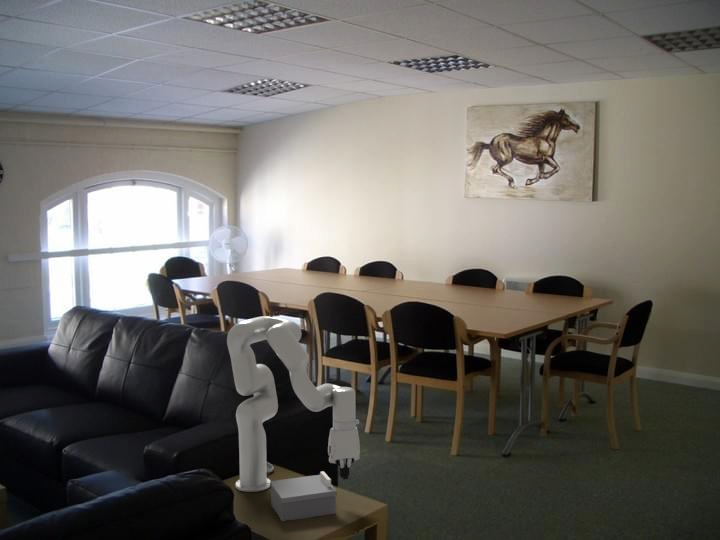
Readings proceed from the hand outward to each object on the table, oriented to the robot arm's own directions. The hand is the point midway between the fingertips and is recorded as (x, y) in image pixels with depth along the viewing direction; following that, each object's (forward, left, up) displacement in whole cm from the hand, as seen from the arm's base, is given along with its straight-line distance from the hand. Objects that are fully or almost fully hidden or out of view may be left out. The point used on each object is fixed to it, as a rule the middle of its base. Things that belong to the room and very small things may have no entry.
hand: (344, 477), depth 251 cm
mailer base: (0, -14, -9) cm, 17 cm away
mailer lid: (0, -14, -2) cm, 15 cm away
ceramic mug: (-40, -20, -9) cm, 46 cm away
